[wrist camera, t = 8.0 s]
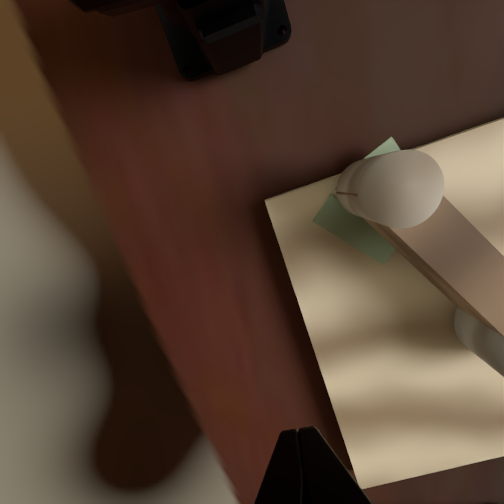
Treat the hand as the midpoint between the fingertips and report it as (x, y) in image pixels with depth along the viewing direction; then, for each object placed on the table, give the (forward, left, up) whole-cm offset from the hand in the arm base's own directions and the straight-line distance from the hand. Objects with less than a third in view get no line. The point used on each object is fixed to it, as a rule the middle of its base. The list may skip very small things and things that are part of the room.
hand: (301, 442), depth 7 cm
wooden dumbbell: (+1, +9, -11) cm, 14 cm away
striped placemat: (+6, +12, -13) cm, 19 cm away
